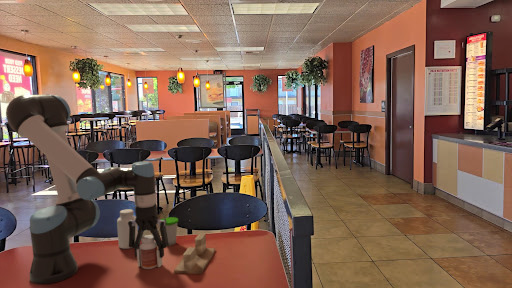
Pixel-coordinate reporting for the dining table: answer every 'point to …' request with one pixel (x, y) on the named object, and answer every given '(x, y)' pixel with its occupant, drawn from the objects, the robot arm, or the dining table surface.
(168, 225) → the cup
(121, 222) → the pill bottle
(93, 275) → the dining table surface
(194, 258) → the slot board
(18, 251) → the dining table surface
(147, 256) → the pill bottle
